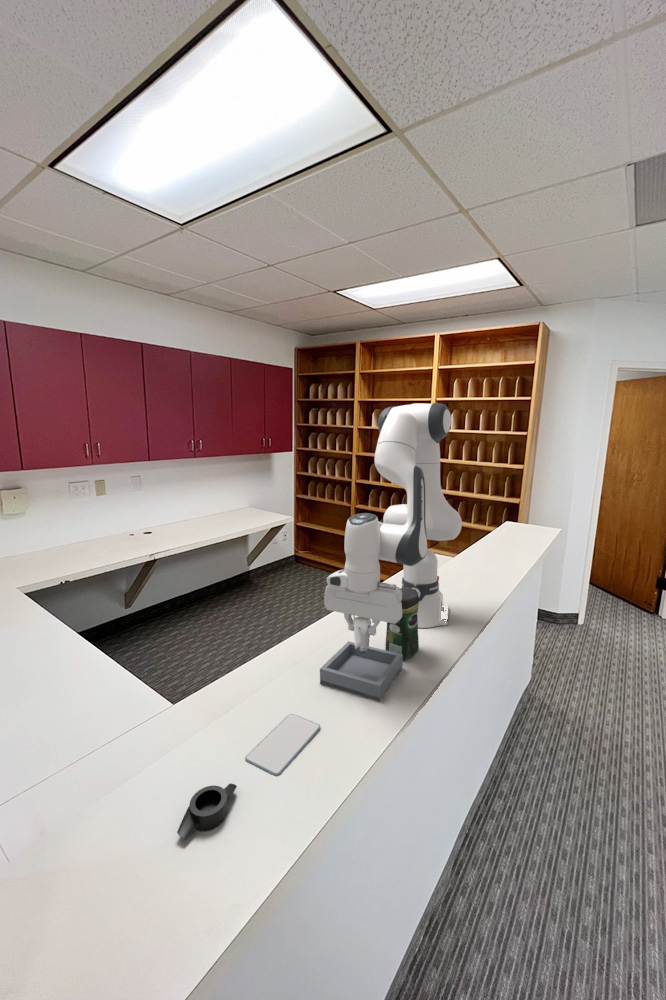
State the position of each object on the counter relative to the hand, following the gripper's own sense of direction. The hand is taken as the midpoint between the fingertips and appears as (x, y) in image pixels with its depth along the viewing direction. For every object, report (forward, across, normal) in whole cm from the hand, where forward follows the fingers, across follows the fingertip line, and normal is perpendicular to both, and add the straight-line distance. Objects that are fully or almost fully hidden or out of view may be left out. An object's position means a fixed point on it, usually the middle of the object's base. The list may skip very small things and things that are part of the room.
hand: (362, 632), depth 104 cm
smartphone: (+13, +4, +29) cm, 32 cm away
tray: (+12, 0, 0) cm, 12 cm away
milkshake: (+5, 0, 0) cm, 5 cm away
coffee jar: (+12, -5, -16) cm, 21 cm away
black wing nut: (+13, +6, +48) cm, 50 cm away
